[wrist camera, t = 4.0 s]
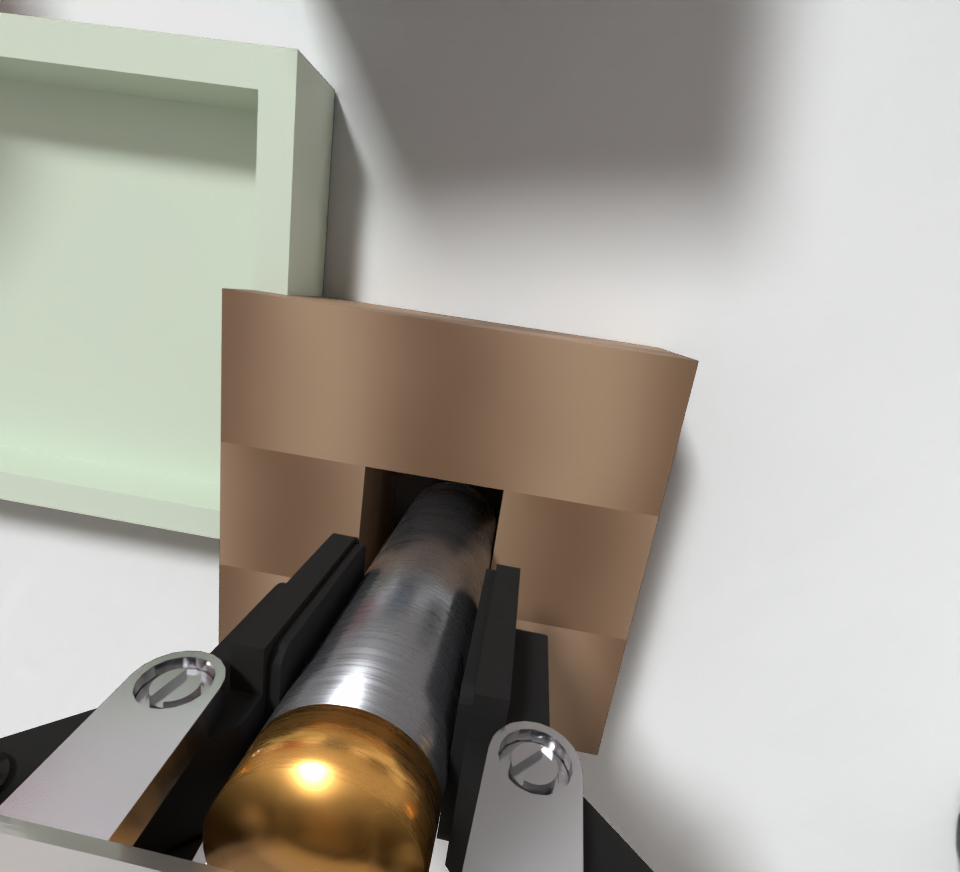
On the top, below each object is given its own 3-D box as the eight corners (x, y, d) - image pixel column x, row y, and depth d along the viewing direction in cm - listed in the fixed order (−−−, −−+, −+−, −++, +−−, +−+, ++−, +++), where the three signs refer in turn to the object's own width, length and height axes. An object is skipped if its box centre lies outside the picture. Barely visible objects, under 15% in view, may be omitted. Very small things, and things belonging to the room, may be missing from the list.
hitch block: (658, 347, 16) (699, 361, 12) (583, 664, 19) (597, 755, 15) (293, 292, 17) (221, 287, 13) (279, 606, 20) (218, 679, 16)
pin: (503, 490, 15) (438, 800, 6) (489, 572, 16) (411, 972, 6) (413, 474, 15) (202, 746, 6) (403, 556, 16) (201, 919, 7)
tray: (335, 90, 15) (297, 49, 13) (309, 517, 19) (276, 549, 16) (-155, 27, 16) (-277, -22, 14) (-88, 447, 20) (-175, 467, 17)
